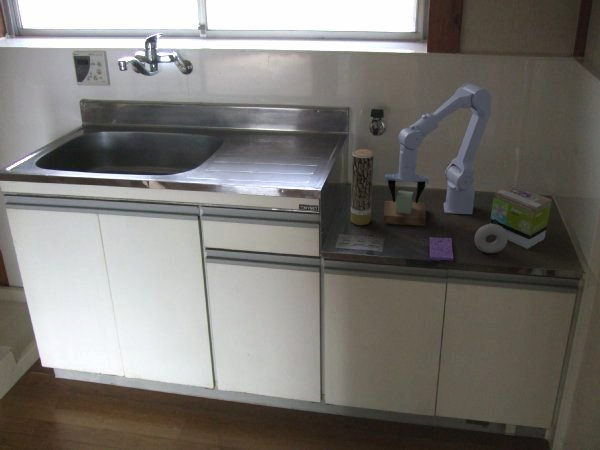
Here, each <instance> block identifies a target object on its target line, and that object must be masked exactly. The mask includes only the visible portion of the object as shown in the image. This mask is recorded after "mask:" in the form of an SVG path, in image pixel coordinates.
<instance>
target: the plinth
mask: <svg viewBox="0 0 600 450" xmlns="http://www.w3.org/2000/svg"><path fill="white" fill-rule="evenodd" d="M383 206H384V207H383V223H382V224H385V225H403V226H422V227H423V226H424V227H425V226H426V223H427V222H426V221H427V220H426V219H427V214H426V202H423V201H418V203H416V201H413V205H412V210H411V214H404V213H396V200H395V202H393V200H384V203H383Z"/></svg>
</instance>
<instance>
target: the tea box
mask: <svg viewBox="0 0 600 450" xmlns="http://www.w3.org/2000/svg"><path fill="white" fill-rule="evenodd" d="M552 202H553V199H551V198H548V197H546V196H543V195H540V194H538V193H535V192H532V191H530V190H527V189H524V188H522V187H519V186H517V185H516V186H515V185H513V184H510V185H509V186H506V187H504V188H503V189H501V190H500V189H499V191H497V192H494V194H493V200H492V207H491V214H490V219H489V224H497V225H499V226H501V227H503V228H504V229H505V230H506V232H507V235H508V241H509V242H511V243H514V244H516V245H518V246H520V247H522V248H524V249H526V250H528V249H530V248H532V247H533V246H536V244H537V245H538V244H539V243H540V242H542V241H544V240H545V237H546V233H547V227H548V224H549V223H548V222H549V219H550V213H551V208H552V207H551V206H552ZM538 242H539V243H538ZM531 246H532V247H531Z"/></svg>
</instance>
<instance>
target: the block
mask: <svg viewBox="0 0 600 450" xmlns="http://www.w3.org/2000/svg"><path fill="white" fill-rule="evenodd" d="M395 201H396V213H404V214H411V210H412V205H413V202H414V191H408V190H398V191H397V194H396V198H395Z"/></svg>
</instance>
